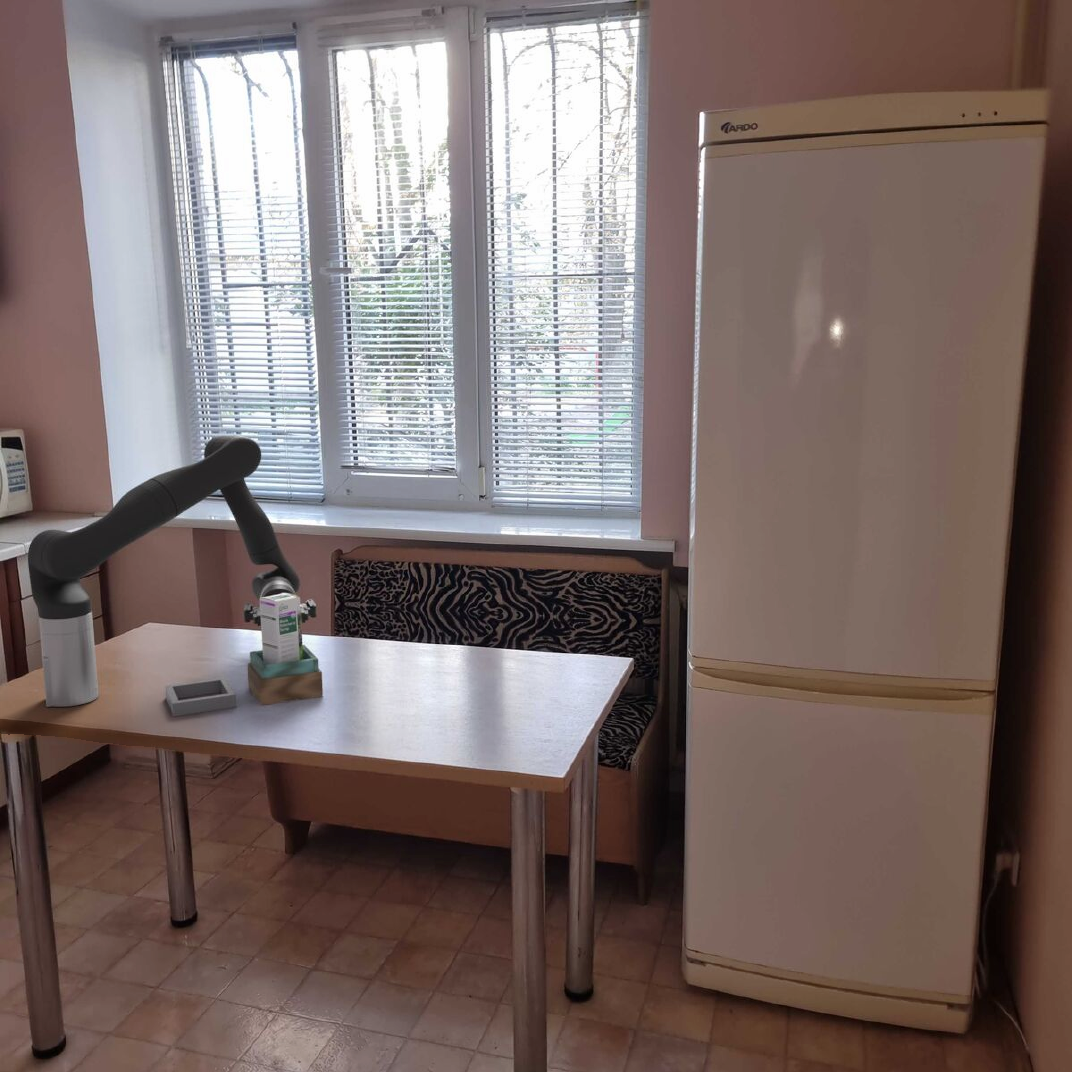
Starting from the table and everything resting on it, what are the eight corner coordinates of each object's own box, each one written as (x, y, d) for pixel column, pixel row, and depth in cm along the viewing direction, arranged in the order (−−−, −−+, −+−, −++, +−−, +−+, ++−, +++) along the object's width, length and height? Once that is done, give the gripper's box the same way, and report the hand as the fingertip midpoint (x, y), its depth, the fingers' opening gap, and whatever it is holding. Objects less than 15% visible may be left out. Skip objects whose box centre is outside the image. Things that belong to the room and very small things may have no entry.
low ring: (173, 716, 179) (172, 703, 178) (165, 697, 189) (165, 685, 188) (236, 706, 184) (235, 694, 183) (226, 689, 194) (225, 677, 193)
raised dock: (260, 705, 185) (259, 667, 183) (248, 687, 195) (246, 651, 194) (322, 696, 190) (321, 659, 189) (307, 678, 201) (306, 643, 199)
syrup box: (279, 673, 188) (276, 601, 186) (262, 667, 192) (258, 596, 189) (304, 666, 192) (301, 595, 190) (286, 660, 196) (283, 591, 194)
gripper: (242, 585, 204) (243, 603, 189) (311, 581, 208) (317, 598, 193) (244, 620, 205) (245, 640, 190) (313, 615, 209) (318, 635, 194)
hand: (281, 619), depth 191 cm, fingers open, 8 cm apart
